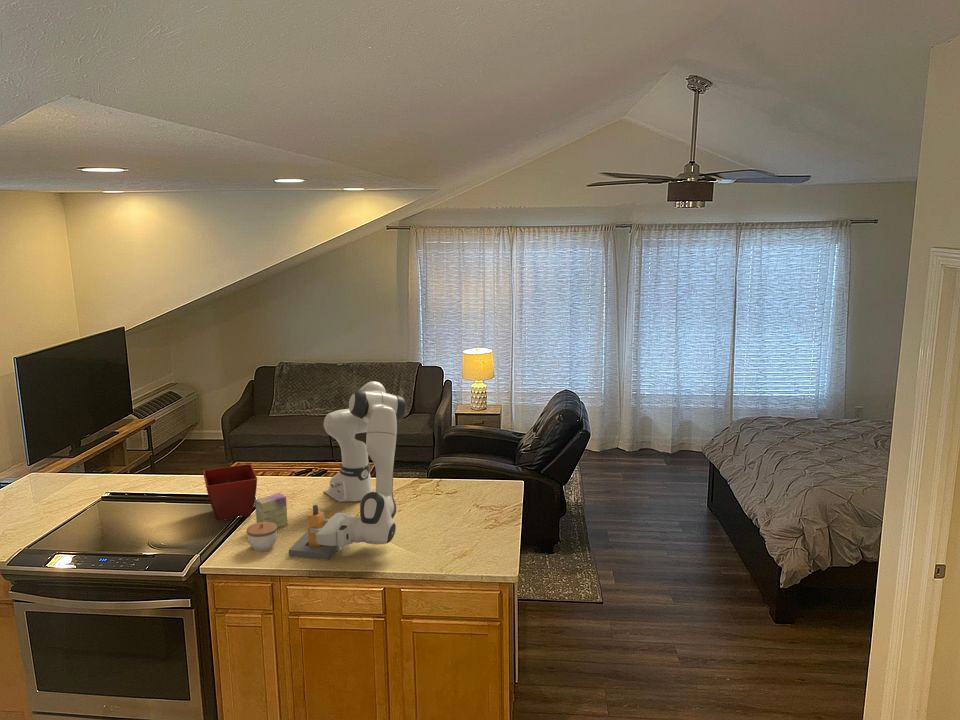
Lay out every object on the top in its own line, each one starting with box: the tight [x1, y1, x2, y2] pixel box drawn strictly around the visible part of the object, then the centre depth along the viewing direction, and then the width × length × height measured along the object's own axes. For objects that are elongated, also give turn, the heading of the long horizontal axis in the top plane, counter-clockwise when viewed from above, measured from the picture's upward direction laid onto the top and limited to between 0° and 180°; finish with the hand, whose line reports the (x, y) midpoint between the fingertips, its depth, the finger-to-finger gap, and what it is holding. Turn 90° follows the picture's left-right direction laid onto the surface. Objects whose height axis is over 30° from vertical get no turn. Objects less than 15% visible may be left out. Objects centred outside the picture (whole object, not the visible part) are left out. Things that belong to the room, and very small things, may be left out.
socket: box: [288, 531, 339, 561], centre depth 266 cm, size 15×15×2 cm
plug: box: [307, 504, 325, 547], centre depth 265 cm, size 4×4×15 cm
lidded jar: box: [246, 522, 278, 552], centre depth 267 cm, size 11×11×9 cm
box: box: [254, 492, 288, 529], centre depth 284 cm, size 10×6×12 cm, turn 134°
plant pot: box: [202, 463, 258, 521], centre depth 296 cm, size 19×19×17 cm
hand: (313, 526), depth 265 cm, fingers closed on plug, 4 cm apart
